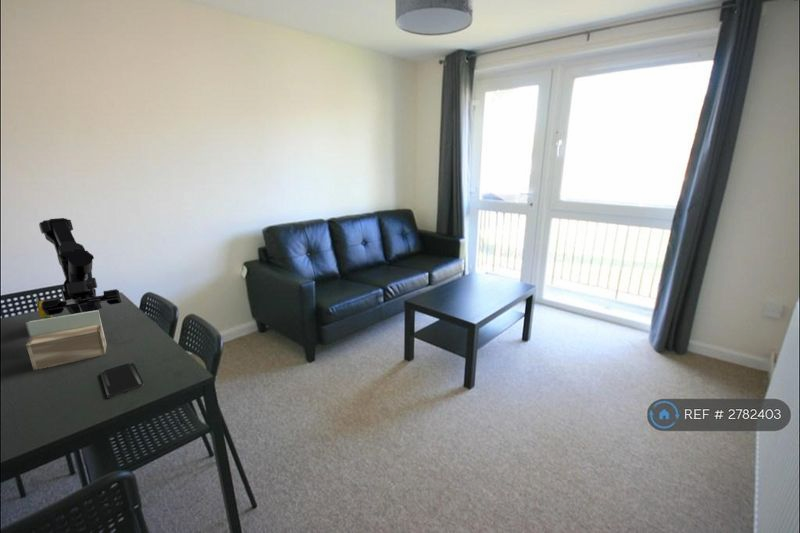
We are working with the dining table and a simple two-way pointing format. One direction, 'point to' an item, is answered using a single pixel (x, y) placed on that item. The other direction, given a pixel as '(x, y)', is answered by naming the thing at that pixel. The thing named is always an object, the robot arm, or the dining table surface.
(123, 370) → the phone
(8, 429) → the dining table surface
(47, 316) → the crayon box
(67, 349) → the crate
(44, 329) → the flap
